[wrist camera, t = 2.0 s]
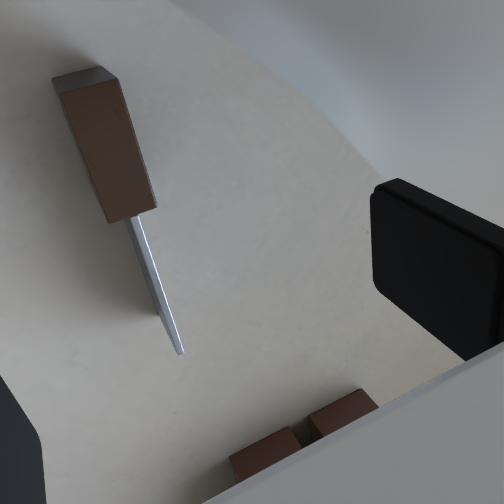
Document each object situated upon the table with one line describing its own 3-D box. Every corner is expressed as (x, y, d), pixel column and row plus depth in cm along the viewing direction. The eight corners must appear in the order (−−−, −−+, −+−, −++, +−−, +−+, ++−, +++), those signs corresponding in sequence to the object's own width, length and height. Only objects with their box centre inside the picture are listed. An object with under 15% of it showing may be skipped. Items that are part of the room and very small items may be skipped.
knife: (50, 78, 22) (58, 93, 19) (101, 64, 23) (118, 77, 20) (144, 323, 30) (161, 362, 27) (180, 308, 31) (200, 345, 28)
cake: (228, 456, 39) (260, 521, 35) (361, 387, 43) (407, 438, 38) (254, 537, 46) (283, 600, 42) (367, 472, 50) (406, 524, 45)
